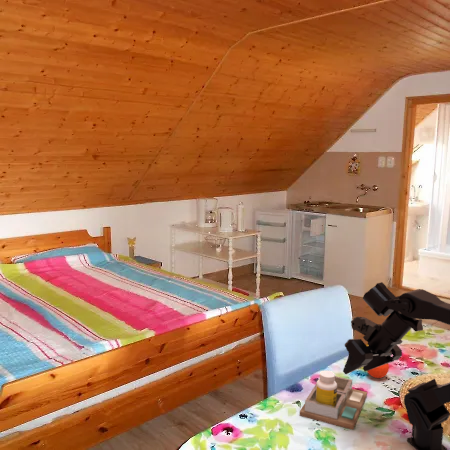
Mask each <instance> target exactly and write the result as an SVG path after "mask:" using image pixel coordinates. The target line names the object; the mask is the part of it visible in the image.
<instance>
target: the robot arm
mask: <svg viewBox="0 0 450 450" xmlns="http://www.w3.org/2000/svg"><path fill="white" fill-rule="evenodd" d="M362 300H363V301H364V303H365V304H366V305H367V306H368V307H369V308H370V309H371V310H372V311H373V312H374V313H375V315H377V316H378V317H382V316H383V317H385V318H386V319H384V320H383V322H382V323H379V324H378V323H376V322H374V321H373V320H371V319H369V318H367V317H364V316H356V317H354V318H353V319H352V320H351V321H350V325H351V329H352V330H354V331H357V332H358V333H359V334H361V335H363V337H362V338H363V339H361V338H349V339H347V341H346V342H345V343H344V347H345V348H346V349H345V350H346V351H347V352H348V357H347V359H346V362H345V365H344V367H343V369H342V372H343V373H344V375H347V374H350V373H353V372H355V371H357V370H359V369H361V368H362V370H363V371H364V372H367V371H369V370H371V369H374V368H377V367H379V366H382V365H385V364H391V363H393V362H395V361H398V360H399V359H400V358H401V357H402V356H403V350H402V349H401V348H400V347H399V346H398V345H401V344H402V343H403V342H404V341H403V340H402V339H403V338H404V337H405V336H406V335H407V334H408V332H410V330H413V331H414V332H421V331H424V326H423V320H431V321H435V322H436V321H437V322H439V323H443V324H445V325H449V326H450V303H448V302H446V301H443V300H441V299H440V298H439V296H437V295H435V294H433V293H431V292H429V291H428V290H426V289H423V288H418V289H414V290H411V291H407V292H403V293H402V294H401V295H398V296H396V295H395V294H394V293H393V292H391V290H390V289H389V288H388V287H387V285H386V284H385V283H383V282H382V281H380V282H377V283H376V284H375V286H373V287H371V288H370V289H369V290H367V291H366V292H364V295H363V296H362ZM364 341H365V342H367V345H366V343H365V342H364ZM407 392H408V393H406V394H404V398H403V404H404V408H405V409H406V414H407V418H408V419H407V420H408V422H409V424H411V425H412V429H411V436H410V437H407V438H406V441H407V442H408V443H409V444H410V445H411V446H412V447H414V448H415V449H416V450H448V448H447V447H446V446H444V445H443V438H444V426H443V425H442V423H444V422H447V421H448V419H449V417H450V411H449V410H448V409H447V407H446V405H445V404H448V403H450V381H449V382H447V383H444V384H443V383H442V384H441V383H440V384H438V383H437V381H436V378H433V379H431V380H429V381H427V382H421V383H419V384H417V385H415V386H413V387H411V388H409V389H407Z"/></svg>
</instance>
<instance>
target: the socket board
mask: <svg viewBox="0 0 450 450" xmlns="http://www.w3.org/2000/svg"><path fill="white" fill-rule="evenodd" d="M337 390H340V391H344V389H341V388H337ZM367 397H368V392H367V391H363V390H358V389H355V388H352V390H351V392H350V395H349V397H348V399H347V401H346V403H345V405H344V407H343V409H342V411H341V413H340V415H339V417H338V419H337V420H336V419H332V418H328V417H324V416H320V415H316V414H312V413H308V412H305V403H304V404H303V406H302V407H301V408H300V409H299V416H300V417H305V418H307V419H311V420H315V421H319V422H323V423H327V424H331V425H335V426H338V427H342V428H346V429H350V430H354V428H355V427H356V425H357V421H358V419H359V417H360V414H361V412H362V409H363V407H364V404H365V402H366V399H367ZM314 402H316V399H315V401H314ZM336 405H337V404H336Z"/></svg>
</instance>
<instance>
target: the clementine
mask: <svg viewBox="0 0 450 450" xmlns="http://www.w3.org/2000/svg"><path fill="white" fill-rule="evenodd" d="M389 369H390V363H388V364H385V365H382V366H379V367H377V368H374V369H371V370H369V371H366V372H367V373H368V375H369V376H371V377H372V378H375V379H382V378H385V376H387V375H388V373H389Z"/></svg>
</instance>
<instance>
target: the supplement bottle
mask: <svg viewBox="0 0 450 450" xmlns="http://www.w3.org/2000/svg"><path fill="white" fill-rule="evenodd" d="M335 376H336V374H335V373H334V372H333V371H331V370H321V371H320V372H319V379H318V380H317V381H316V383H317V385H316V384H315V385H316V402H318V403H322V404H326V405H330V406H334V407H336V399H337V383H336V382H335V381H334V380H335Z"/></svg>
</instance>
